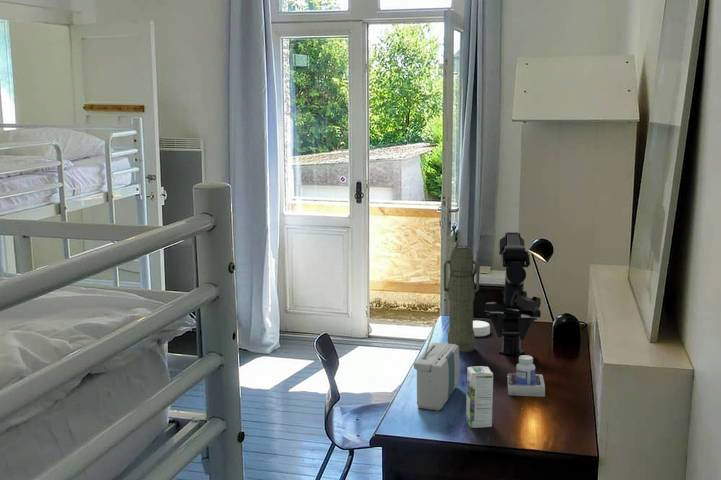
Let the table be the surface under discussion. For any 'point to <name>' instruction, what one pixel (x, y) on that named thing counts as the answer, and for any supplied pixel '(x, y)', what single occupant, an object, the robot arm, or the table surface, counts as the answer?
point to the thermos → (461, 297)
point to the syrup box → (479, 397)
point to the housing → (526, 386)
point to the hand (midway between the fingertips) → (510, 338)
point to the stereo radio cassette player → (437, 374)
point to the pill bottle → (525, 370)
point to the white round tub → (481, 328)
